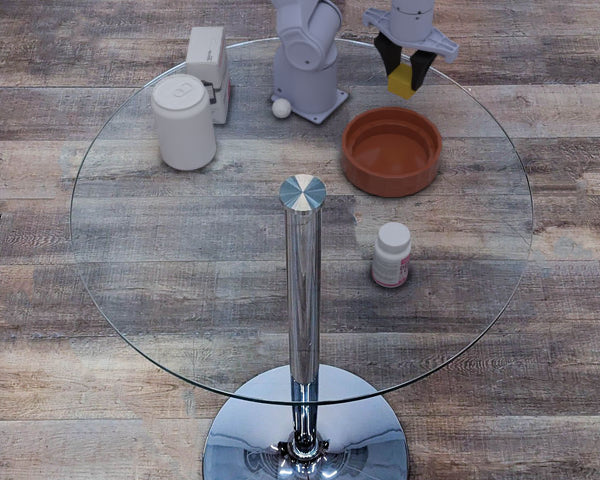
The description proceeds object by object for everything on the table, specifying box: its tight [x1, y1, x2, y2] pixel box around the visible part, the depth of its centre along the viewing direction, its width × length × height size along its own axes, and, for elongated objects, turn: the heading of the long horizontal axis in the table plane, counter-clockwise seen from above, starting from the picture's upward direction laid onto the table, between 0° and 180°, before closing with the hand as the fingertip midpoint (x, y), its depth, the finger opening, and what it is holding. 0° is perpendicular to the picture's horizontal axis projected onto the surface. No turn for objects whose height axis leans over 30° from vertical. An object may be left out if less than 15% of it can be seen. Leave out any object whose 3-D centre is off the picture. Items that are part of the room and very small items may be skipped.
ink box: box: [184, 26, 231, 125], centre depth 130 cm, size 8×5×12 cm, turn 177°
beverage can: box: [150, 73, 217, 171], centre depth 124 cm, size 8×8×12 cm
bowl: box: [340, 106, 443, 198], centre depth 126 cm, size 14×14×4 cm
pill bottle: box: [371, 221, 412, 288], centre depth 112 cm, size 5×5×8 cm
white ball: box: [271, 98, 292, 119], centre depth 132 cm, size 3×3×3 cm
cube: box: [387, 62, 417, 101], centre depth 127 cm, size 4×4×3 cm
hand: (405, 81), depth 127 cm, fingers closed on cube, 3 cm apart
